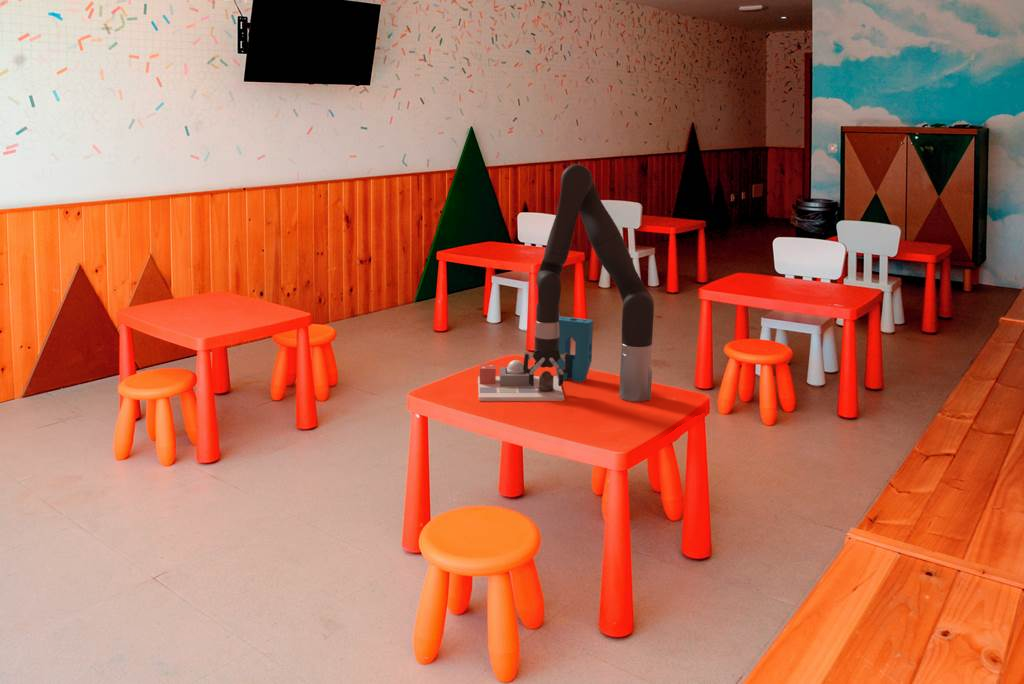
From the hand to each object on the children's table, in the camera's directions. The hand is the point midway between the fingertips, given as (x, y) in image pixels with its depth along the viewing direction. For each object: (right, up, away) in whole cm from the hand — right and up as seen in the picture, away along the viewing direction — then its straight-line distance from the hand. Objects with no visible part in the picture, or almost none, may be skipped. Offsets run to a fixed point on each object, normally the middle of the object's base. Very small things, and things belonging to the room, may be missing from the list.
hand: (545, 385), depth 282 cm
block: (+9, +1, +17) cm, 19 cm away
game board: (-8, -2, +4) cm, 9 cm away
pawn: (0, -1, 0) cm, 1 cm away
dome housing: (-9, +1, +9) cm, 13 cm away
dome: (-9, +3, +8) cm, 13 cm away
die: (-18, +1, +8) cm, 20 cm away
